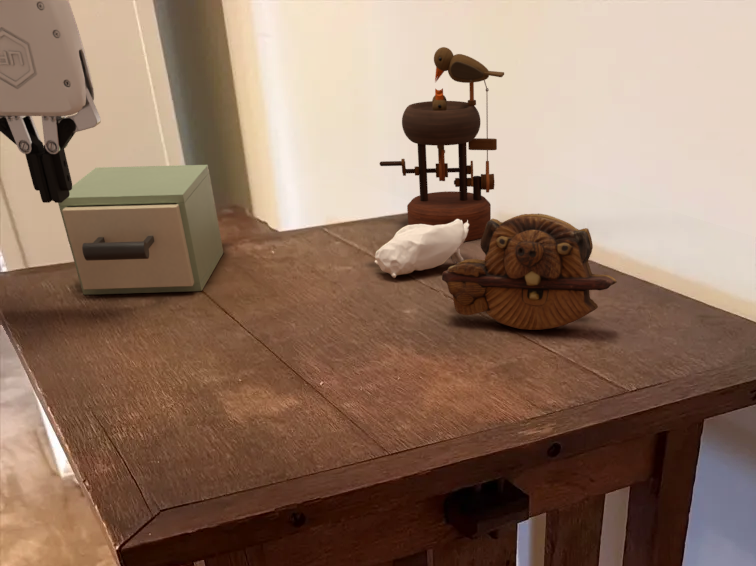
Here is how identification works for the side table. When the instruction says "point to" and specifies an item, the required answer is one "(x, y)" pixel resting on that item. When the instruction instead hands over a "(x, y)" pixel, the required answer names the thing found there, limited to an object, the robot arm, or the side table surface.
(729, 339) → the side table surface
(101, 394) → the side table surface
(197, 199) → the cabinet
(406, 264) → the white lumpy oblong piece
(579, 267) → the wooden carving
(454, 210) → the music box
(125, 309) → the side table surface
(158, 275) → the drawer
